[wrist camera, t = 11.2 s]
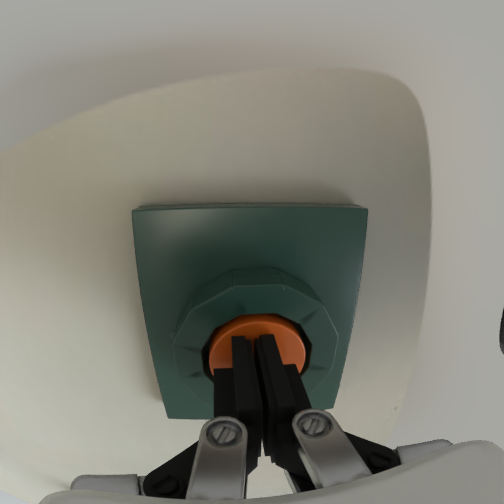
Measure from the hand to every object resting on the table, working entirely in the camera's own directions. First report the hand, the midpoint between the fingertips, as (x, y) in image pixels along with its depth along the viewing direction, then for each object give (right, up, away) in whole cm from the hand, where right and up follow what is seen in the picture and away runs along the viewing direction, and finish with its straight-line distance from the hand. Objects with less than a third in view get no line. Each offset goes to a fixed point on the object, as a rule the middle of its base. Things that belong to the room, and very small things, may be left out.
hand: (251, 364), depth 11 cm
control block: (0, +1, +3) cm, 3 cm away
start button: (0, +1, +2) cm, 2 cm away
